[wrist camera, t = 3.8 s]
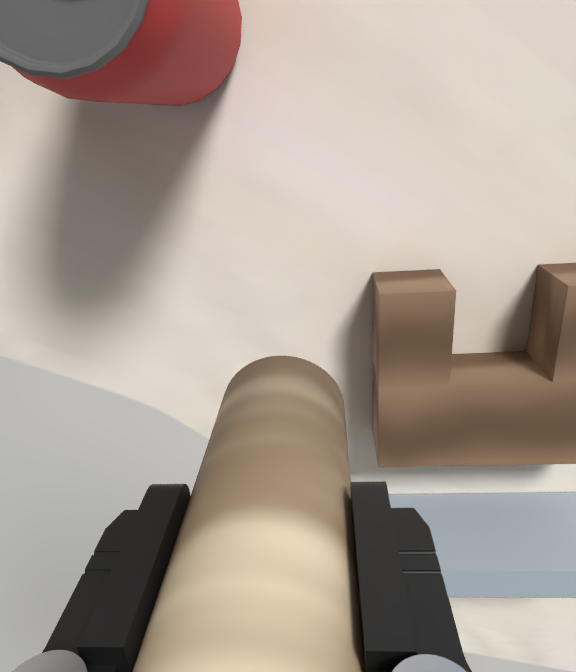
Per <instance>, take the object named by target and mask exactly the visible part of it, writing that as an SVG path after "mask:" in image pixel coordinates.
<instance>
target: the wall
mask: <svg viewBox="0 0 576 672" xmlns="http://www.w3.org/2000/svg"><path fill="white" fill-rule="evenodd" d="M388 495H389V501H390V506H391V508H415V510H416V511H417V512H418V513H419V515H420V516H421V517H422V518H423V520H424V521H425V522H426V523H427V525H428V526H429V527H430V530H431V534H432V538H433V542H434V546H435V549H436V555H437V557H438V561H439V564H440V568H441V575H442V576H443V580H444V583H445V587H446V591H447V595H448V597H485V598H576V492H549V493H462V494H388Z"/></svg>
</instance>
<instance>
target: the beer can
mask: <svg viewBox="0 0 576 672" xmlns="http://www.w3.org/2000/svg"><path fill="white" fill-rule="evenodd" d="M241 20H242V16H241V12H240V7H239V3H238V0H0V61H1V62H3V63H6V64H8V65H10V66H12V67H13V68H14V69H15V70H16V71H17V72H19V73H20V74H21V75H22V76H23V77H25V78H27V79H28V80H30V81H32V82H33V83H35V84H38V85H40V86H42V87H44V88H46V89H49V90H51V91H53V92H55V93H57V94H60V95H62V96H64V97H66V98H70V99H80V100H89V101H99V102H116V103H136V104H156V105H176V106H179V105H183V104H187V103H191V102H195V101H199V100H201V99H202V98H204V97H205V96H207V95H208V94H210V93H211V92H213V91H214V90H215V89H217V88H218V87H219V86H220V84H221V83H222V82H223V80H224V79H225V78H226V76H227V75H228V73H229V72H230V71H231V69H232V68H233V65H234V62H235V59H236V56H237V53H238V50H239V47H240V42H241Z"/></svg>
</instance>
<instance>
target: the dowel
mask: <svg viewBox="0 0 576 672" xmlns="http://www.w3.org/2000/svg"><path fill="white" fill-rule="evenodd" d="M350 483H351V480H350V468H349V456H348V445H347V433H346V421H345V409H344V401H343V397H342V394H341V391H340V389H339V387H338V386H337V384H336V382H335V381H334V380H333V379H332V377H331V376H330V375H329V374H328V373H327V372H326V371H324V370H323V369H322V368H320V367H319V366H317V365H315V364H313V363H312V362H309V361H307V360H304V359H301V358H297V357H291V356H271V357H266V358H262V359H259V360H256V361H254V362H252V363H250V364H248V365H247V366H245V367H244V368H242V369H241V370H240V371H239V372H238V373H237V374H236V375H235V376H234V377H233V378H232V380H231V381H230V383H229V385H228V387H227V389H226V391H225V394H224V397H223V400H222V403H221V406H220V409H219V412H218V415H217V418H216V421H215V424H214V427H213V430H212V433H211V437H210V440H209V443H208V446H207V449H206V452H205V455H204V458H203V461H202V464H201V467H200V470H199V473H198V476H197V479H196V482H195V485H194V488H193V491H192V494H191V497H190V500H189V503H188V506H187V509H186V512H185V515H184V518H183V521H182V524H181V527H180V530H179V533H178V536H177V539H176V542H175V545H174V548H173V551H172V554H171V557H170V560H169V563H168V566H167V569H166V572H165V575H164V578H163V581H162V584H161V587H160V590H159V593H158V596H157V599H156V602H155V605H154V609H153V612H152V615H151V618H150V621H149V624H148V627H147V630H146V633H145V636H144V639H143V642H142V645H141V648H140V651H139V654H138V657H137V660H136V663H135V666H134V669H133V672H365V670H364V658H363V646H362V633H361V621H360V609H359V596H358V584H357V572H356V559H355V547H354V535H353V523H352V510H351V495H350Z"/></svg>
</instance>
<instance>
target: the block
mask: <svg viewBox="0 0 576 672" xmlns="http://www.w3.org/2000/svg"><path fill="white" fill-rule="evenodd" d="M455 299H456V290H455V289H454V287H453V286H452V285H451V284H450V282H449V281H448V280H447V278H446V277H445V276H444V274H443V273H442V272H441V270H440V269H438V270H416V271H395V272H374V273H373V436H374V442H375V448H376V454H377V460H378V466H379V467H401V466H464V465H526V464H576V263H565V264H544V265H538V270H537V277H536V284H535V292H534V299H533V306H532V314H531V321H530V329H529V336H528V343H527V351H526V352H502V353H472V354H452V342H453V327H454V313H455Z"/></svg>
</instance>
